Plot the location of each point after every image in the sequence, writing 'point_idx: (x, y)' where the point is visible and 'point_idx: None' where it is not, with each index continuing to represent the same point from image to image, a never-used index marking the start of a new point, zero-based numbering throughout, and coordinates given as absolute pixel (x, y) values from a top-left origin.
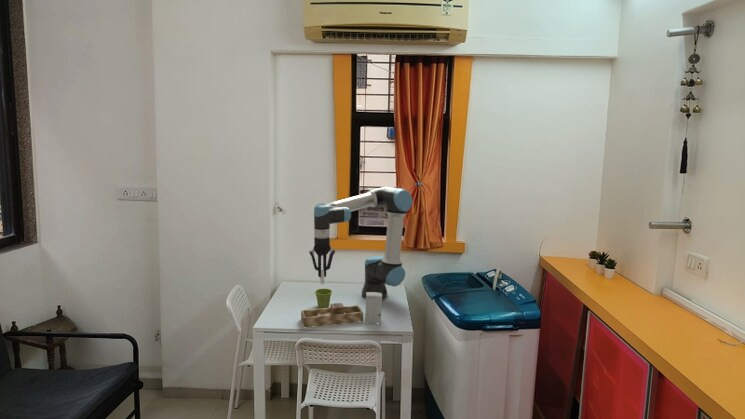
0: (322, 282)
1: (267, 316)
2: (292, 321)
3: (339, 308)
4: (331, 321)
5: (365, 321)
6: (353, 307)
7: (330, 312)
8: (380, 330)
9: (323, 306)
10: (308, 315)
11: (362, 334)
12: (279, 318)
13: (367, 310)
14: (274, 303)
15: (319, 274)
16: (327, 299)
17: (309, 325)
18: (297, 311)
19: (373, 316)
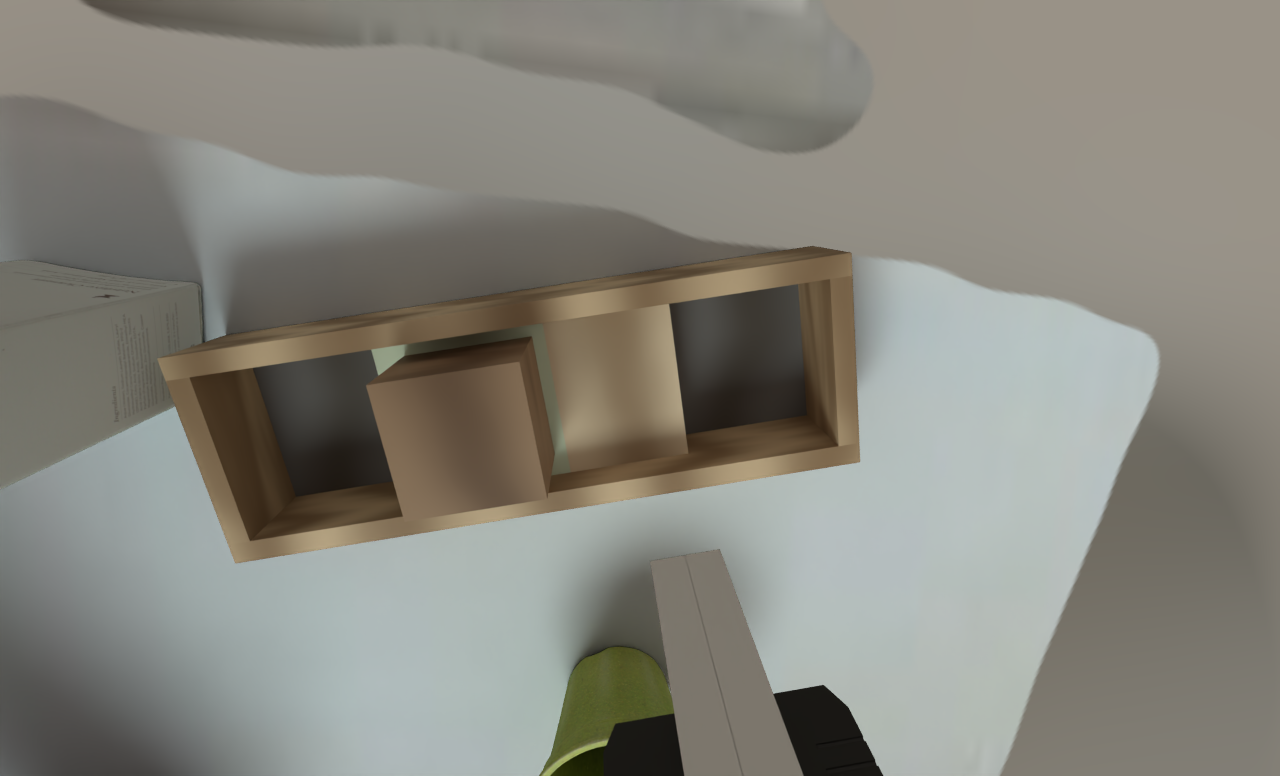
0: (695, 576)
1: (1094, 511)
2: (901, 396)
3: (432, 372)
4: (545, 291)
5: (181, 286)
6: (298, 527)
7: (552, 450)
8: (10, 97)
9: (618, 656)
10: (770, 435)
11: (211, 13)
12: (1003, 466)
13: (55, 304)
14: (1009, 747)
15: (844, 763)
16: (580, 710)
17: (763, 255)
18: (842, 595)
19: (38, 283)
